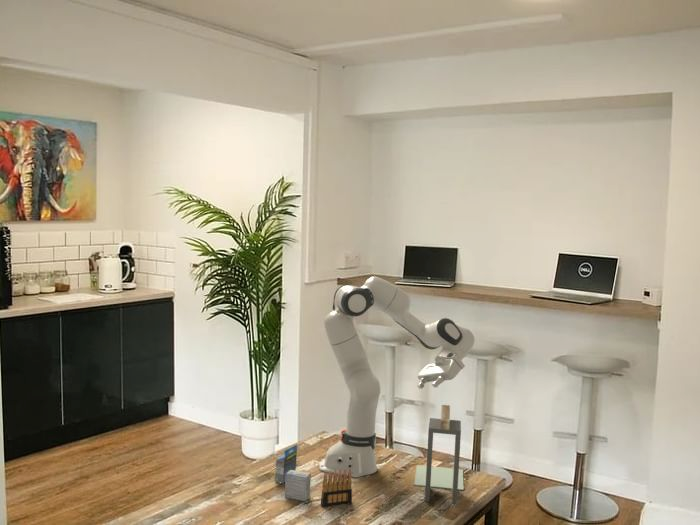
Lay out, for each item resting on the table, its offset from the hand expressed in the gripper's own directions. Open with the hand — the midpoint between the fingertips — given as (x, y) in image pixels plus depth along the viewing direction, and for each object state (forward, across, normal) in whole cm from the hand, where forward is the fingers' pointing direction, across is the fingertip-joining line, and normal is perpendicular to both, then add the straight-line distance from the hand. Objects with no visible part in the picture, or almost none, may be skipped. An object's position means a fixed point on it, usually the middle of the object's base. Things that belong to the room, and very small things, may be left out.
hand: (426, 386), depth 258 cm
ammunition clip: (+55, -1, +2) cm, 55 cm away
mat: (+18, -6, +30) cm, 35 cm away
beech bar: (+10, +12, +8) cm, 17 cm away
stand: (+28, +8, +27) cm, 39 cm away
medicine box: (+61, -11, -7) cm, 62 cm away
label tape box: (+56, -27, -8) cm, 63 cm away
